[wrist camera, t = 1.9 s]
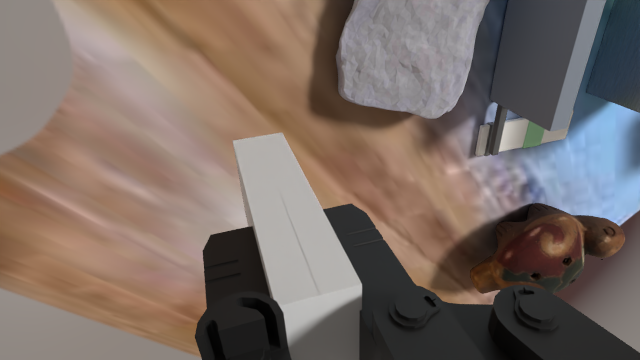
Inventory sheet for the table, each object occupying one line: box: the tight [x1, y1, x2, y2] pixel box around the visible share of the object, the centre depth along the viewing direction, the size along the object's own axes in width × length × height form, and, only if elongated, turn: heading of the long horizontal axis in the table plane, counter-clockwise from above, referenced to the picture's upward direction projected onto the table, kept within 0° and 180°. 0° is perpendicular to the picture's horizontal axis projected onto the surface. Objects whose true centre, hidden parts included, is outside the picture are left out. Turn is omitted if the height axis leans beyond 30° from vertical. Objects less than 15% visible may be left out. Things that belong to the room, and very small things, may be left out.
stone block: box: [336, 0, 490, 119], centre depth 29 cm, size 12×5×10 cm
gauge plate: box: [488, 0, 606, 155], centre depth 30 cm, size 19×2×7 cm, turn 3°
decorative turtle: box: [470, 203, 625, 294], centre depth 43 cm, size 10×15×8 cm, turn 125°
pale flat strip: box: [475, 110, 574, 156], centre depth 38 cm, size 3×10×1 cm, turn 93°
